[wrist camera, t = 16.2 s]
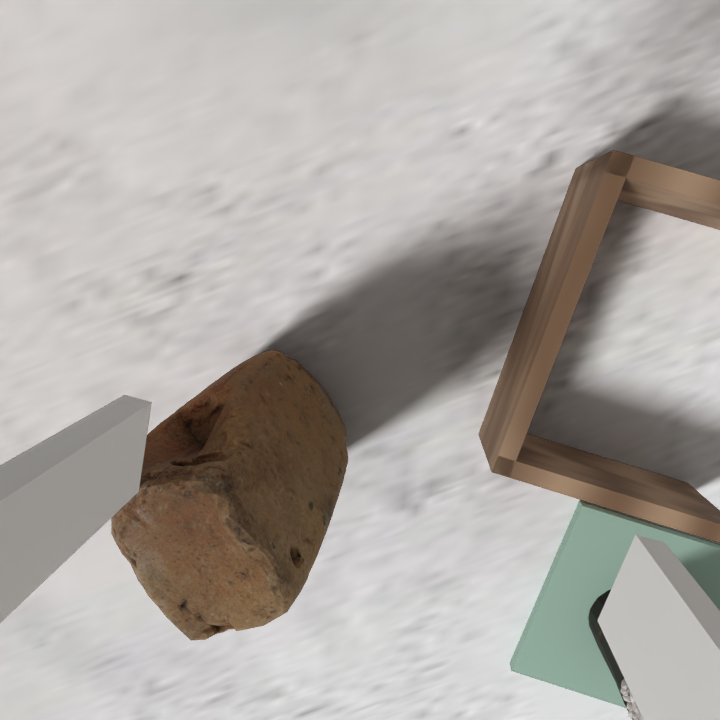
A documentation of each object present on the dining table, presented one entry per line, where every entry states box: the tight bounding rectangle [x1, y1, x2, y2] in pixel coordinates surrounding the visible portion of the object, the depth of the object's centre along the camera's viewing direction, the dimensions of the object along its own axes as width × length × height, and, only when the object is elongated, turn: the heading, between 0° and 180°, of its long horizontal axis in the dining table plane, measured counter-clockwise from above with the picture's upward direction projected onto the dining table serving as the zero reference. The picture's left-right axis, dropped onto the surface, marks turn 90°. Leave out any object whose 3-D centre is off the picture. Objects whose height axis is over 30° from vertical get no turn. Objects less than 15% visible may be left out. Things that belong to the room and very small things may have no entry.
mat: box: [510, 501, 720, 708], centre depth 42 cm, size 16×16×1 cm
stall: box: [479, 150, 720, 543], centre depth 34 cm, size 16×20×7 cm
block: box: [111, 350, 348, 640], centre depth 32 cm, size 11×8×20 cm
